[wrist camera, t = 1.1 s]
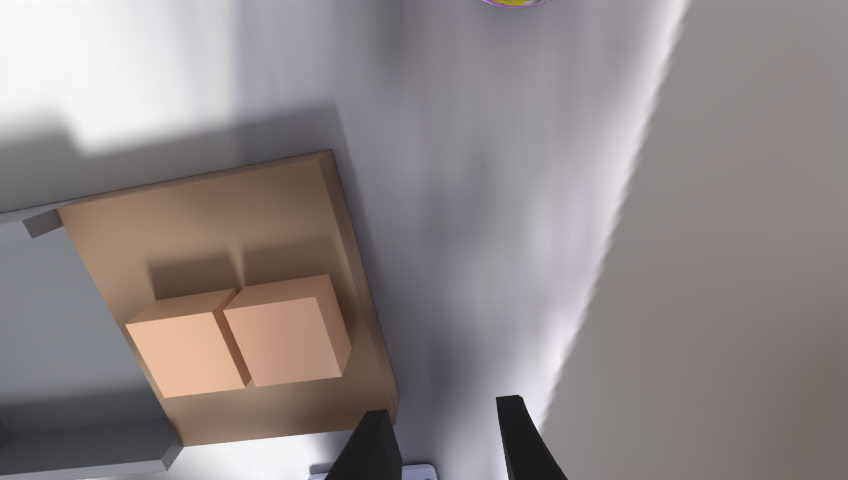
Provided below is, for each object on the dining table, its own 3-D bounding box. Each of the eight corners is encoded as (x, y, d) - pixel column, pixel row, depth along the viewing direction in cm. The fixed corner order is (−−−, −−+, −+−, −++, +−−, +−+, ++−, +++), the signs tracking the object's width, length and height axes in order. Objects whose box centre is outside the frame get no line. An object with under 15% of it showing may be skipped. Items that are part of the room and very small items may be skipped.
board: (399, 396, 24) (395, 424, 22) (203, 418, 25) (184, 446, 23) (331, 149, 19) (318, 158, 17) (90, 195, 20) (54, 208, 18)
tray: (203, 418, 25) (167, 470, 22) (16, 439, 27) (-44, 491, 24) (90, 195, 20) (21, 220, 17) (-132, 238, 22) (-234, 268, 18)
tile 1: (351, 348, 20) (342, 376, 18) (273, 358, 21) (256, 386, 19) (328, 273, 19) (315, 296, 17) (244, 286, 19) (223, 310, 17)
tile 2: (263, 359, 21) (245, 388, 19) (189, 369, 21) (164, 398, 19) (234, 288, 19) (211, 312, 17) (155, 300, 20) (125, 324, 18)
